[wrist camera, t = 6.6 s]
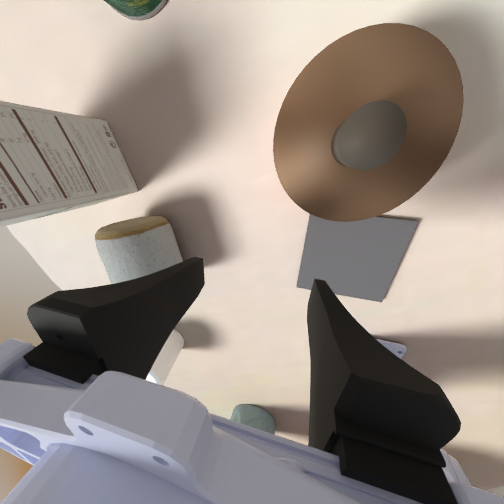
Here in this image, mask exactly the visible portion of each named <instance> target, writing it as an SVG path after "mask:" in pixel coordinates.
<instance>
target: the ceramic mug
mask: <svg viewBox="0 0 504 504" xmlns="http://www.w3.org/2000/svg"><path fill="white" fill-rule="evenodd" d="M95 241H96V246H97V250H98V253H99V255H100V258H101V260H102V262H103V264H104V266H105V269H106V271H107V274H108V276H109V279H110V281H111V284H115V283H119V282H124V281H128V280H132V279H136V278H139V277H143V276H146V275H149V274H152V273H155V272H157V271H160V270H163V269H165V268H168V267H170V266H173V265H175V264H178V263H180V262H183V259H182V256H181V253H180V250H179V248H178V245H177V241H176V238H175V234H174V232H173V229H172V227H171V225H170V223H169V222H168V220H167V219H166V218H164V217H162V216H148V217H141V218H135V219H129V220H125V221H121V222H117V223H113V224H110V225H107V226H104V227H102V228H100V229H99V230H98V231H97V232H96V234H95Z"/></svg>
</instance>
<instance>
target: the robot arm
mask: <svg viewBox="0 0 504 504" xmlns="http://www.w3.org/2000/svg"><path fill="white" fill-rule="evenodd" d="M204 284H205V282H204V266H203V259H202V258H197V257H193V258H190V259H188V260H185V261H183V262H180V263H178V264H175V265H173V266H170V267H168V268H165V269H163V270H160V271H157V272H155V273H152V274H149V275H146V276H143V277H139V278H136V279H132V280H128V281H124V282H119V283H115V284H110V285H105V286H99V287H92V288H85V289H75V290H65V291H58V292H55V293H53V294H51V295H49V296H47V297H46V298H44V299H42V300H40V301H38V302H37V303H35V304H33V305H31V306H30V307H29V308H28V312H27V315H28V318H29V320H30V322H31V324H32V326H33V327H34V329H35V330H36V332H37V333H38V335H39V337H40V338H41V339H42V341H43V343H41V344H40V345H38V346H37V347H34V346H33V345H32V344H30V343H27V342H24V341H21V340H18V339H15V338H9V339H7V340H6V341H5V342H3V343H1V344H0V448H2V449H4V450H5V451H8V452H9V453H11V454H13V455H15V456H17V457H19V458H21V459H22V460H24V461H26V462H28V463H30V464H32V465H33V467H32V468H31V469H30V470H29V471H28V472H27V474H26V475H25V476H24V477H23V478H22V479H21V481H20V482H19V483H18V484H17V485H16V486H15V487H14V488H13V490H12V491H11V492H10V493H9V494H8V495H7V497H6V498H5V499H4V500H3V501H2V502H1V503H0V504H504V496H501V495H498V494H495V493H492V492H489V491H486V490H483V489H480V488H477V487H474V486H472V485H471V483H470V482H469V480H468V478H467V476H466V474H465V473H464V471H463V469H462V467H461V466H460V464H459V462H458V461H457V460H456V459H455V458H453V457H452V456H451V455H449V454H447V452H446V451H445V450H444V449H441V448H442V447H443V446H445V445H446V444H447V443H448V442H449V441H451V440H452V439H453V438H454V437H455V436H456V435H457V433H458V432H459V431H460V427H461V422H460V419H459V417H458V415H457V413H456V412H455V410H454V408H453V407H452V405H451V403H450V402H449V400H448V398H447V397H446V395H445V393H444V392H443V390H442V389H441V387H440V386H439V385H438V384H436V383H435V382H433V381H432V380H430V379H429V378H427V377H426V376H424V375H423V374H421V373H420V372H418V371H417V370H415V369H414V368H412V367H411V366H410V365H408V364H407V363H405V362H404V361H403V360H401V358H402V357H403V355H404V354H405V352H406V350H407V348H406V346H405V345H403V344H399V343H394V342H389V341H385V340H380V339H375V338H374V337H373V336H372V335H371V334H369V333H368V332H367V331H366V330H365V329H364V328H363V327H362V326H361V325H360V324H359V323H358V322H357V321H356V320H355V319H354V318H353V317H352V315H351V314H350V313H349V312H348V311H347V310H346V308H345V307H344V306H343V305H342V303H341V302H340V301H339V300H338V298H337V297H336V295H335V294H334V293H333V291H332V290H331V288H330V287H329V285H328V284H327V282H326V281H325V280H320V279H315V278H314V282H313V286H312V290H311V294H310V298H309V302H308V311H307V323H308V335H309V346H310V358H311V385H310V421H309V444H308V446H307V445H304V444H301V443H298V442H295V441H292V440H289V439H286V438H283V437H280V436H277V435H274V434H271V433H268V432H265V431H262V430H259V429H256V428H253V427H250V426H247V425H244V424H241V423H238V422H235V421H232V420H229V419H226V418H223V417H220V416H217V415H214V414H211V413H209V412H208V410H207V408H206V407H205V406H204V405H203V404H202V403H201V402H199V401H198V400H197V399H196V398H194V397H192V396H190V395H188V394H185V393H183V392H181V391H178V390H175V389H172V388H169V387H165V386H162V385H159V384H156V383H153V382H150V381H147V380H146V378H147V376H148V374H149V372H150V370H151V368H152V366H153V364H154V362H155V360H156V358H157V357H158V355H159V353H160V351H161V349H162V348H163V346H164V344H165V342H166V341H167V339H168V337H169V336H170V334H171V332H172V331H173V329H174V328H175V326H176V325H177V323H178V322H179V321H180V319H181V318H182V317H183V315H184V314H185V313H186V311H187V310H188V309H189V307H190V306H191V305H192V303H193V302H194V301H195V299H196V298H197V297H198V295H199V293H200V292H201V290H202V288H203V286H204Z"/></svg>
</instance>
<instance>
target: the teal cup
mask: <svg viewBox="0 0 504 504" xmlns="http://www.w3.org/2000/svg"><path fill="white" fill-rule="evenodd" d="M230 420H232V421H235V422H238V423H241V424H244V425H247V426H250V427H253V428H256V429H259V430H262V431H265V432H268V433H271V434H274V435H275V420H274V418H273V417H272V416H271V415H270V413H268V412H267V411H266V410H264V409H262V408H260V407H257V406H254V405H250V404H241V405H238V406H236V407H235V409H234V410H233V413H232V416H231V419H230Z"/></svg>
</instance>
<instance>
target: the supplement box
mask: <svg viewBox="0 0 504 504" xmlns="http://www.w3.org/2000/svg"><path fill="white" fill-rule="evenodd" d="M134 192H138V188H137V186H136V184H135V181H134V179H133V177H132V175H131V172H130V170H129V168H128V166H127V164H126V161H125V159H124V157H123V155H122V153H121V151H120V148H119V146H118V144H117V142H116V140H115V138H114V135H113V133H112V131H111V129H110V127H109V125H108V123H107V121H106V120H101V119H96V118H90V117H85V116H79V115H73V114H68V113H62V112H57V111H52V110H46V109H41V108H35V107H30V106H24V105H19V104H14V103H9V102H3V101H0V227H2V226H6V225H10V224H15V223H19V222H23V221H27V220H32V219H36V218H40V217H44V216H48V215H52V214H57V213H61V212H65V211H69V210H73V209H77V208H82V207H86V206H90V205H94V204H97V203H100V202H103V201H107V200H110V199H113V198H117V197H120V196H123V195H127V194H131V193H134Z"/></svg>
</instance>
